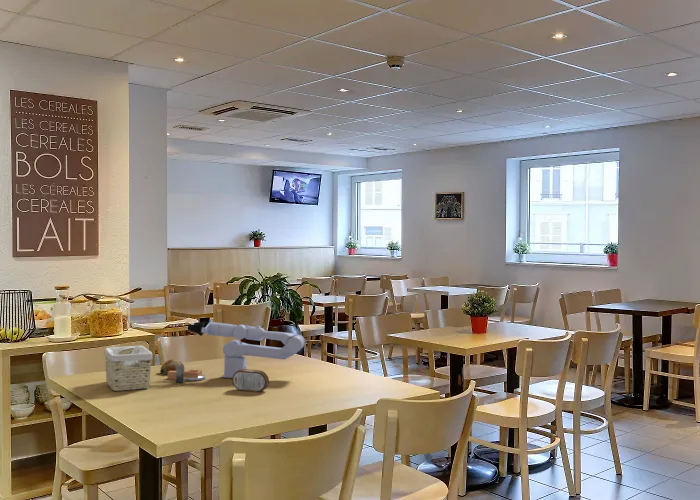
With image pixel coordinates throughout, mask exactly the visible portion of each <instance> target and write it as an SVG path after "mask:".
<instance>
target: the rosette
mask: <svg viewBox="0 0 700 500" xmlns="http://www.w3.org/2000/svg"><path fill="white" fill-rule="evenodd" d="M205 380H206V375H205V374H202V375H201V376H200V377H198V378H189V377H184V382H199V381H205Z"/></svg>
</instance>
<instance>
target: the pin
mask: <svg viewBox="0 0 700 500" xmlns="http://www.w3.org/2000/svg"><path fill="white" fill-rule="evenodd" d="M183 365H184V364H183ZM183 365H178V366H176V379H175V383H176V384H184V382H185V381H184V371H185V365H184V366H183Z"/></svg>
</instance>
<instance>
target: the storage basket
mask: <svg viewBox="0 0 700 500" xmlns="http://www.w3.org/2000/svg"><path fill="white" fill-rule="evenodd" d="M104 355H105V356H104V357H105V373H106V374H105V378H106V384H107V385H108V386H109V387H110V389H111V390H112V391H116V392H118V391H123V392H124V391H129V390H131V391H133V390H134V391H136V390H142V389H148V388H150V383H151V382H150V381H151V370H152V369H151V368H152V362H153V361H152V360H153V352H152V351H151V350H149V349H148V348H146V347H145V346H144V345H132V346H131V345H129V346H125V345H124V346H113V347H106V348H105V349H104Z"/></svg>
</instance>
